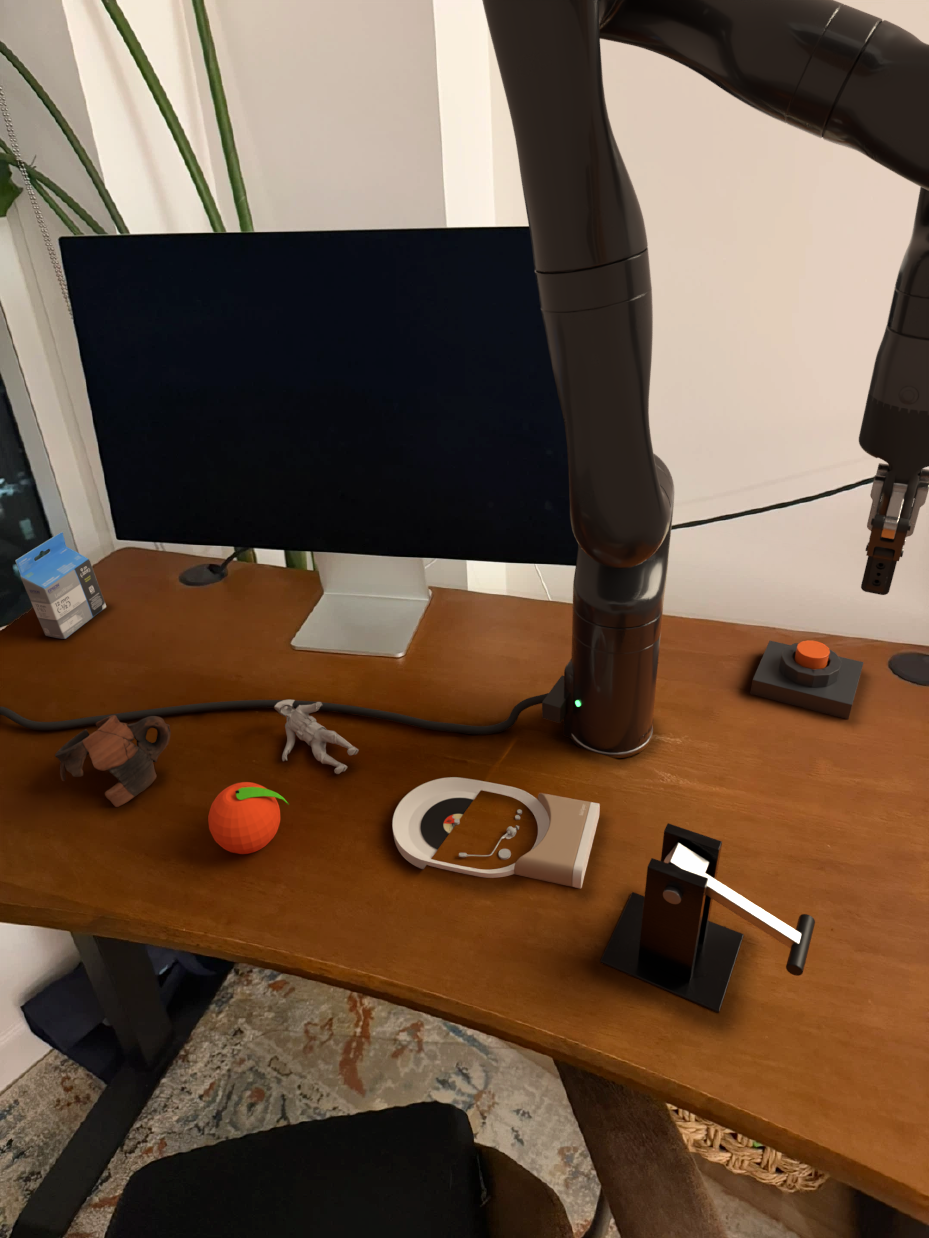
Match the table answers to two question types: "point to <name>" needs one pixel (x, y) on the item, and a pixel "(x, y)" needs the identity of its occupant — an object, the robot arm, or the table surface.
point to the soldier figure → (311, 733)
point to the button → (812, 654)
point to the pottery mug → (118, 754)
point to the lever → (750, 909)
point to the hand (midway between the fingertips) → (874, 589)
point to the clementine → (244, 817)
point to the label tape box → (60, 587)
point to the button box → (807, 681)
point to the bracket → (676, 928)
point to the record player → (551, 858)
